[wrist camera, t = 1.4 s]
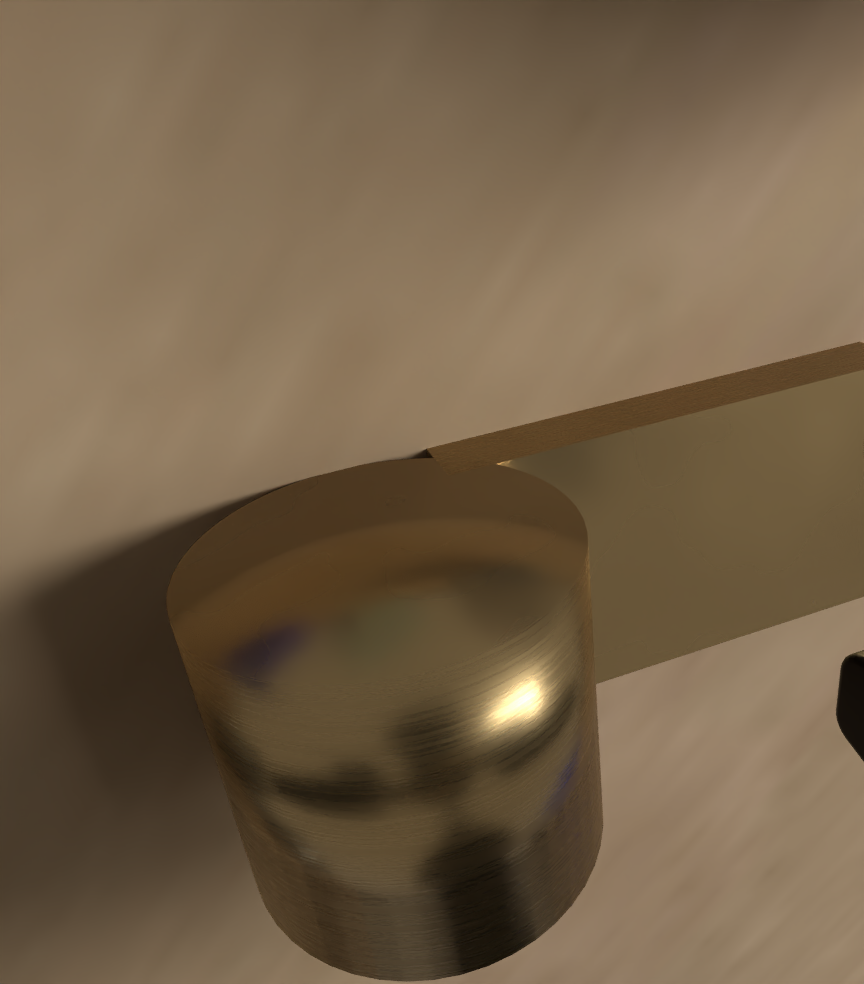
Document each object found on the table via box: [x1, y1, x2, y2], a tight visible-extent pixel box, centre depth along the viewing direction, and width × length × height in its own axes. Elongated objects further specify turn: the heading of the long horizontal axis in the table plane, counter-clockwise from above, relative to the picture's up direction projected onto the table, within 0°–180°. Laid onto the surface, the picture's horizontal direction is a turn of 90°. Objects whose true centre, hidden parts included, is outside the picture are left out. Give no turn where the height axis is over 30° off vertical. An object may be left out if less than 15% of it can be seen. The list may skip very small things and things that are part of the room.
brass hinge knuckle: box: [166, 342, 864, 981], centre depth 10 cm, size 4×10×4 cm, turn 97°
